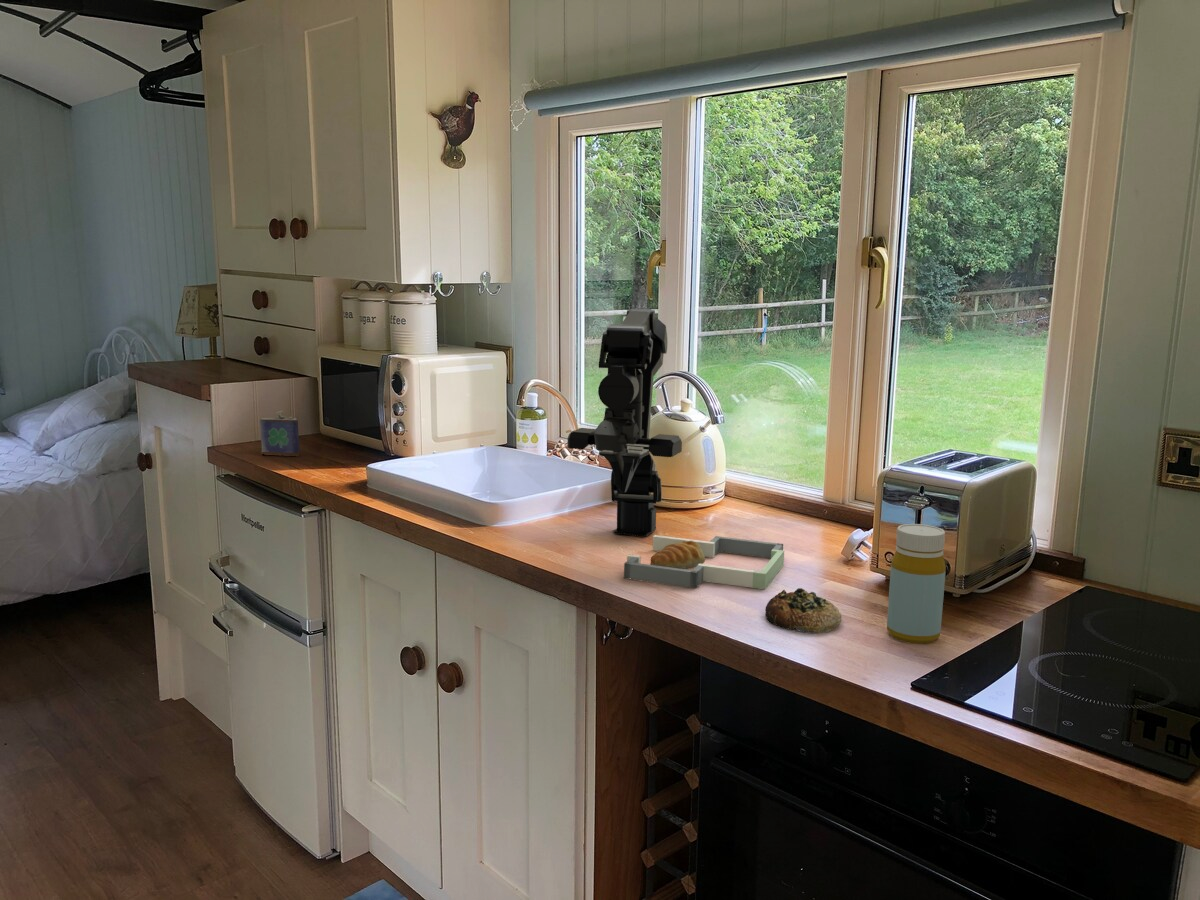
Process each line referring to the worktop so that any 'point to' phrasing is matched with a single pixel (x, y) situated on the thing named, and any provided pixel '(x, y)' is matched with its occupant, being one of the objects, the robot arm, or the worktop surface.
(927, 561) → the bottle
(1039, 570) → the worktop surface
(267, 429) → the flask
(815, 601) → the bread roll
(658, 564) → the pastry
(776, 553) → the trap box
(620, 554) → the worktop surface
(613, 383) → the robot arm
